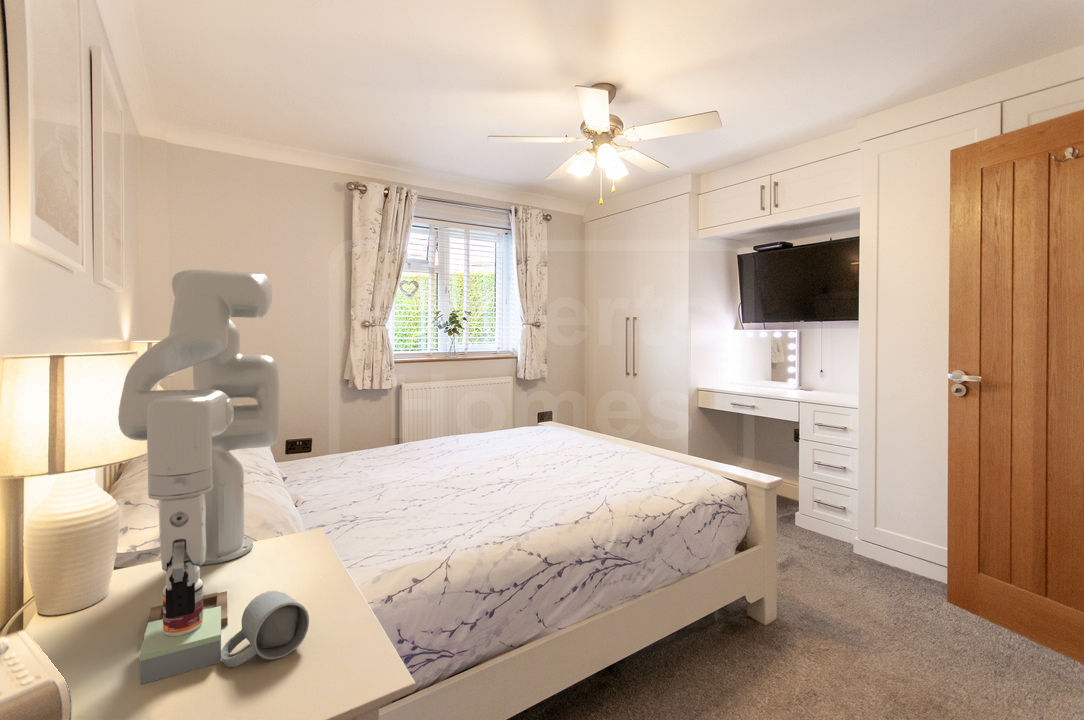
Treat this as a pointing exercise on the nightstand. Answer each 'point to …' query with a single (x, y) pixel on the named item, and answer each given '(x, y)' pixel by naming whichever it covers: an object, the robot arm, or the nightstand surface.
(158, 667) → the green square block
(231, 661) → the ceramic mug
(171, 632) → the pill bottle
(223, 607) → the base
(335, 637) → the nightstand surface
